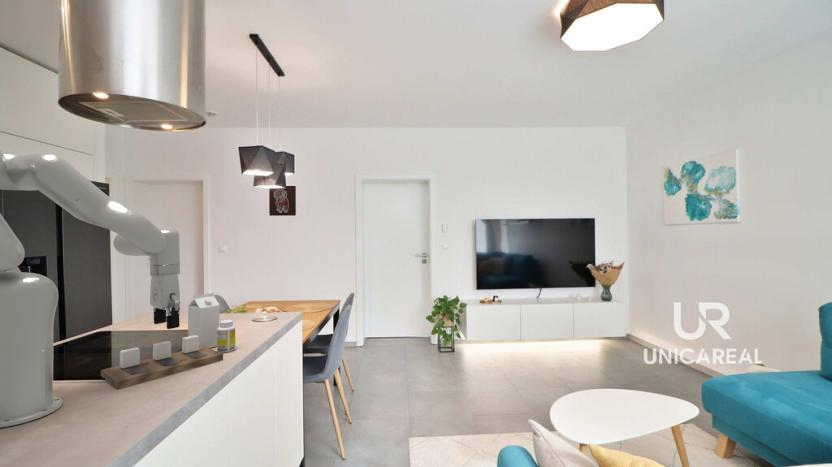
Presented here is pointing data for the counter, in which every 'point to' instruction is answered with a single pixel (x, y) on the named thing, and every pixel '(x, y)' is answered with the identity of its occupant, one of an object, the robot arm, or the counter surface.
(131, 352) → the knob left
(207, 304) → the milk carton
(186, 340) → the knob right
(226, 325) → the supplement bottle
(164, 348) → the knob middle
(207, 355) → the switch board
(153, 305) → the robot arm
